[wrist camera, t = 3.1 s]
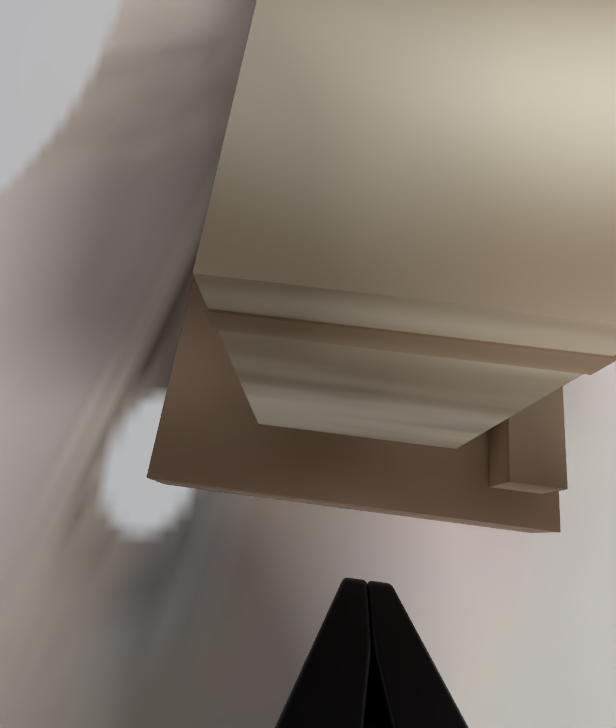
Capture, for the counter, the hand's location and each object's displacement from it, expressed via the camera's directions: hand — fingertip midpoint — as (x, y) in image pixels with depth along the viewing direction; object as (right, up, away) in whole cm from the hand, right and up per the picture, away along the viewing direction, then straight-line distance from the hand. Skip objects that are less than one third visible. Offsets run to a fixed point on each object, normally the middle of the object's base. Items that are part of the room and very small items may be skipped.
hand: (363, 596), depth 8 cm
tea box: (+1, +8, +8) cm, 12 cm away
